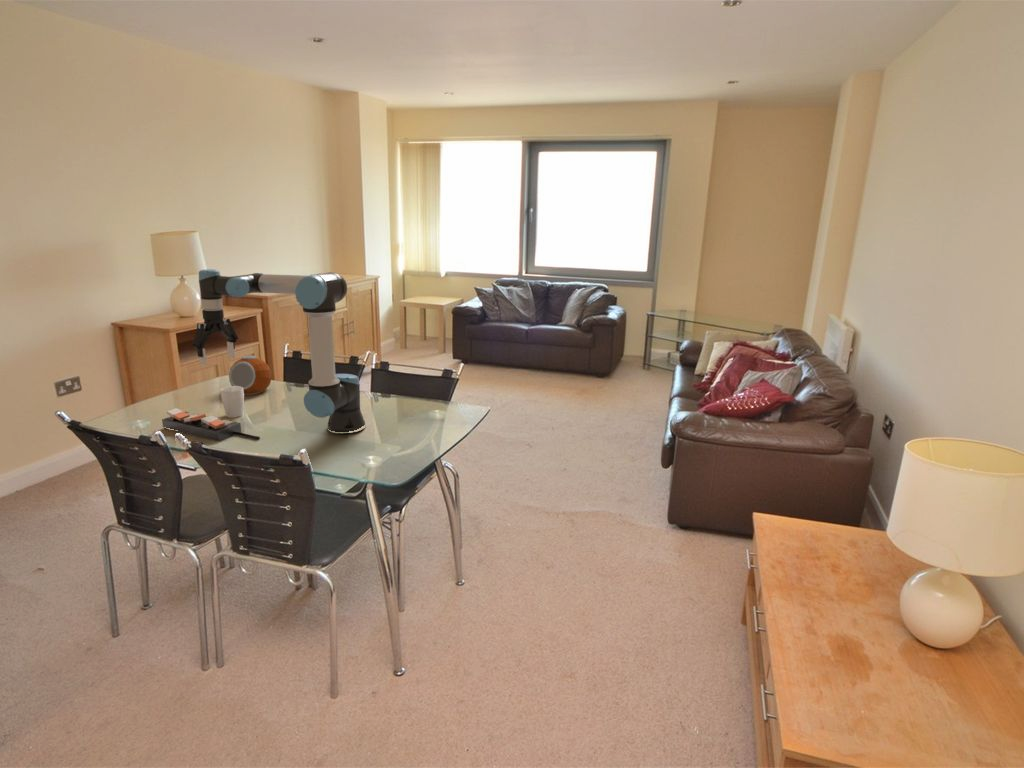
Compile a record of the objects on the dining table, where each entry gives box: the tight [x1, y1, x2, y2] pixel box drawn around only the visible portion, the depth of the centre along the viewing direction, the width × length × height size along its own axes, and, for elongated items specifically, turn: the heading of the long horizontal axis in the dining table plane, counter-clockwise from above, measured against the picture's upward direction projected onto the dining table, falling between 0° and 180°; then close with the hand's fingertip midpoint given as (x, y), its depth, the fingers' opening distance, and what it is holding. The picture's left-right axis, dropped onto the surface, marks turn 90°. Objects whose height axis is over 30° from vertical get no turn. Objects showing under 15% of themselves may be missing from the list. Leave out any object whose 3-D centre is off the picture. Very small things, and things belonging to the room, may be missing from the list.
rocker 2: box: [184, 413, 207, 422], centre depth 237 cm, size 7×4×1 cm, turn 68°
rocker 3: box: [202, 415, 225, 429], centre depth 234 cm, size 7×4×1 cm, turn 68°
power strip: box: [161, 411, 261, 442], centre depth 239 cm, size 42×11×5 cm, turn 68°
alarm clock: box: [228, 355, 272, 395], centre depth 291 cm, size 19×18×17 cm
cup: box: [220, 385, 245, 419], centre depth 258 cm, size 9×9×12 cm
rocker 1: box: [166, 407, 189, 421], centre depth 241 cm, size 7×4×1 cm, turn 68°
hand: (217, 361), depth 243 cm, fingers open, 13 cm apart
